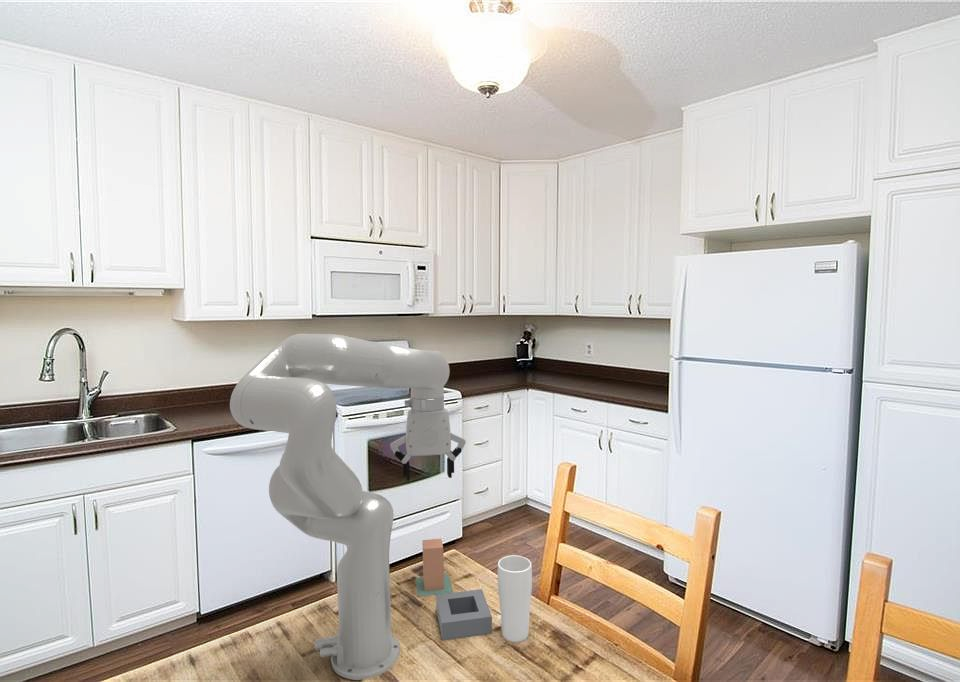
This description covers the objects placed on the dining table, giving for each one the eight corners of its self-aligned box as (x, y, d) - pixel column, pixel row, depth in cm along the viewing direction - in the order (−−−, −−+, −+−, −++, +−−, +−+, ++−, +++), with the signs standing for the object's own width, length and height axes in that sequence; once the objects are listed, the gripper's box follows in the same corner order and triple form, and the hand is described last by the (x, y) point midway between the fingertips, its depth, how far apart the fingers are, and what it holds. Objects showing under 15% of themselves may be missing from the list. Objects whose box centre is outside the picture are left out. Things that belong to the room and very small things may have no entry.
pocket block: (442, 642, 102) (441, 623, 102) (436, 612, 112) (436, 594, 111) (492, 635, 104) (491, 616, 103) (482, 606, 114) (481, 589, 113)
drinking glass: (530, 649, 100) (530, 573, 98) (495, 644, 101) (494, 570, 100) (533, 627, 106) (533, 556, 105) (501, 623, 108) (500, 553, 106)
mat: (417, 598, 117) (417, 596, 117) (415, 579, 125) (415, 577, 125) (453, 594, 118) (453, 592, 118) (448, 576, 126) (448, 574, 126)
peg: (424, 591, 119) (423, 549, 118) (423, 581, 123) (422, 540, 122) (444, 589, 120) (443, 547, 119) (441, 579, 124) (441, 538, 123)
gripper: (389, 409, 114) (391, 485, 115) (467, 405, 117) (468, 480, 118) (389, 402, 122) (390, 474, 123) (462, 399, 125) (463, 469, 126)
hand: (428, 477), depth 121 cm, fingers open, 9 cm apart
